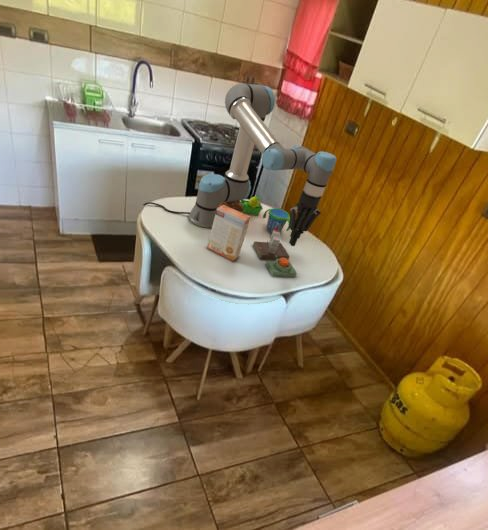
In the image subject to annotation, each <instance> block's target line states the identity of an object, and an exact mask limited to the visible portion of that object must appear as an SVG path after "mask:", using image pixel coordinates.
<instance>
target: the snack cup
mask: <svg viewBox="0 0 488 530" xmlns="http://www.w3.org/2000/svg"><path fill="white" fill-rule="evenodd" d="M267 213H268V218H267ZM266 218H267V224H266V230H267V231H268V232H270V233H272V232H273V230H278V231H280V233H281V232H282V231H283V229H284V227H285V225H286V223H289V221H290V213H289V212H287V211H286V210H284V209H281V208H275V207H273V208H269V209H267V210H265V211H264V213H263V215H262V219H266ZM289 230H291V229H290V228H289V224H288V226H287V228H286V230H285V232H288V231H289Z"/></svg>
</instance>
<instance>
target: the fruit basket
mask: <svg viewBox="0 0 488 530" xmlns="http://www.w3.org/2000/svg"><path fill="white" fill-rule="evenodd" d="M259 199H260V198H259V196H257V195H256V196H253V197H250V198H249V200H246V199H244V200H241V203H242V206H243V209H242V213H243V214H246V215H250V216H251V215H252V216H259V214H260V213H261V211H262V210H264V209H263V206H262V204H261V202H260V200H259Z"/></svg>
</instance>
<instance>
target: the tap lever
mask: <svg viewBox="0 0 488 530" xmlns="http://www.w3.org/2000/svg"><path fill="white" fill-rule="evenodd" d="M268 242H269V253H271V254H275V253H276V250H277V248H278V245H279V243H281V232H280V231H278V230H273V232H271V236H270V238H269V241H268Z"/></svg>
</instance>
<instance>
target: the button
mask: <svg viewBox="0 0 488 530" xmlns="http://www.w3.org/2000/svg"><path fill="white" fill-rule="evenodd" d="M289 262H290V259H286V258H280V259H279V262H278V264H279V265H281V266H283V267H288V265H289ZM290 263H291V262H290Z"/></svg>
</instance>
